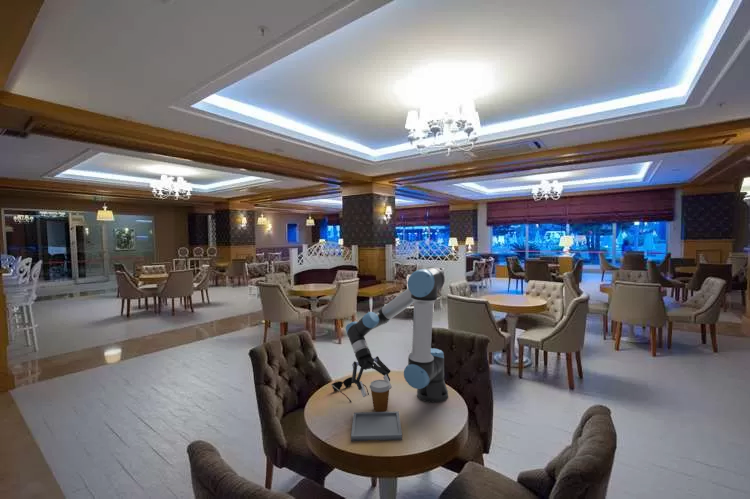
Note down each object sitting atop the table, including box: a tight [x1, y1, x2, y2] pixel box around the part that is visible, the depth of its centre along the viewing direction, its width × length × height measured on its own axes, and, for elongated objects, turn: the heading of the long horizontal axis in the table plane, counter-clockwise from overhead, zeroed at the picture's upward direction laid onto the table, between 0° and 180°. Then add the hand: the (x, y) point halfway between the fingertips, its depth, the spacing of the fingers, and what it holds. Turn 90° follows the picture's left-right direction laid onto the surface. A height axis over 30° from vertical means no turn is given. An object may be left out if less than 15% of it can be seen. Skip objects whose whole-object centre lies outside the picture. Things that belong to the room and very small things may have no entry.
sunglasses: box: [330, 376, 370, 403], centre depth 180 cm, size 14×16×5 cm
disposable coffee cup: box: [369, 379, 391, 412], centre depth 163 cm, size 10×10×12 cm
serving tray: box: [350, 410, 403, 442], centre depth 147 cm, size 20×18×2 cm
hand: (377, 392), depth 164 cm, fingers open, 13 cm apart
